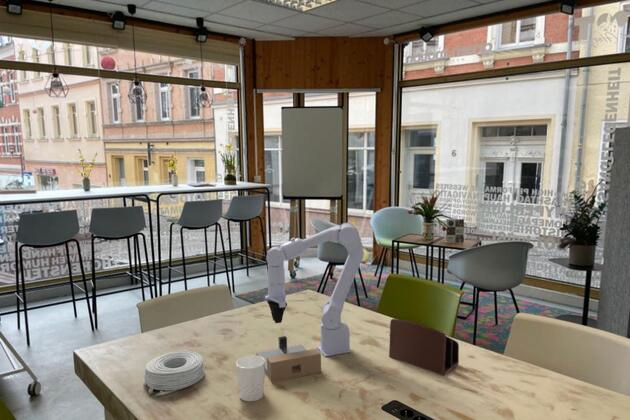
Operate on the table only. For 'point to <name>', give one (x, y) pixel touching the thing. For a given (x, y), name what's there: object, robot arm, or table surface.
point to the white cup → (251, 377)
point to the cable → (174, 371)
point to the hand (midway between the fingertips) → (277, 321)
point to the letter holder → (423, 347)
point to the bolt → (283, 345)
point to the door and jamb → (291, 363)
